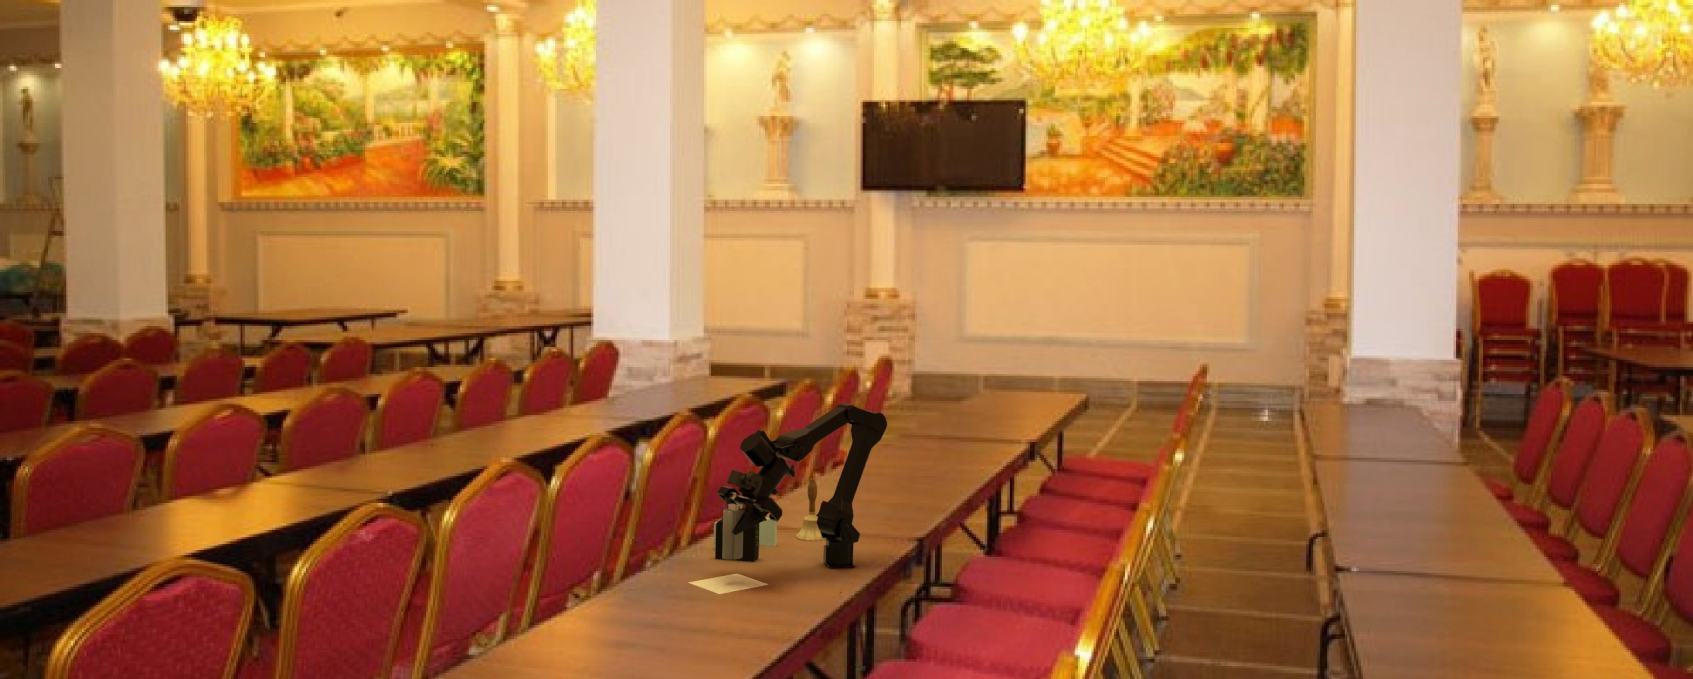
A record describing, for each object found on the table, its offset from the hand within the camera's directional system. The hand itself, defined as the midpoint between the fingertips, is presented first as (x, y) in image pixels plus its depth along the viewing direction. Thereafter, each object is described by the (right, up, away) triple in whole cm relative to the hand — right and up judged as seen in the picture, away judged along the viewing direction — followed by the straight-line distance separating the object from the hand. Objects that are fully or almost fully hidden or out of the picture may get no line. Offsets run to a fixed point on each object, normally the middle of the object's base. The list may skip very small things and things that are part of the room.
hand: (728, 531), depth 307 cm
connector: (+1, -6, +1) cm, 6 cm away
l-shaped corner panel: (+1, -10, +39) cm, 40 cm away
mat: (0, -12, +1) cm, 13 cm away
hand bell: (+18, -9, +52) cm, 56 cm away
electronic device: (0, -11, +25) cm, 27 cm away
